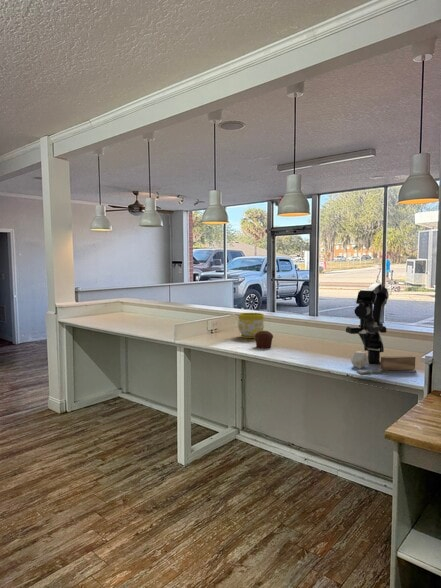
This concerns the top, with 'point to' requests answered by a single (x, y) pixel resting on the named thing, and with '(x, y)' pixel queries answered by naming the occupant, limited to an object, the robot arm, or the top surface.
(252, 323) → the flowerpot
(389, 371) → the rail
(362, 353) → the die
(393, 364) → the wooden block
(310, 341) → the top surface
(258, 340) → the muffin
